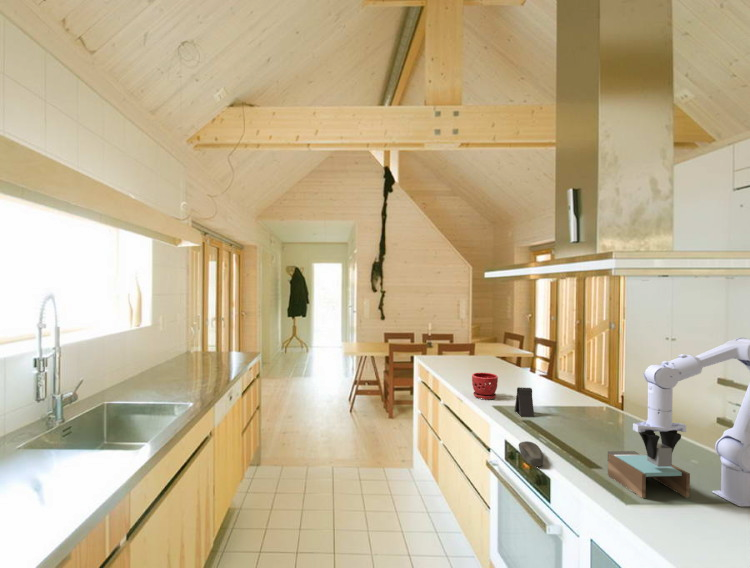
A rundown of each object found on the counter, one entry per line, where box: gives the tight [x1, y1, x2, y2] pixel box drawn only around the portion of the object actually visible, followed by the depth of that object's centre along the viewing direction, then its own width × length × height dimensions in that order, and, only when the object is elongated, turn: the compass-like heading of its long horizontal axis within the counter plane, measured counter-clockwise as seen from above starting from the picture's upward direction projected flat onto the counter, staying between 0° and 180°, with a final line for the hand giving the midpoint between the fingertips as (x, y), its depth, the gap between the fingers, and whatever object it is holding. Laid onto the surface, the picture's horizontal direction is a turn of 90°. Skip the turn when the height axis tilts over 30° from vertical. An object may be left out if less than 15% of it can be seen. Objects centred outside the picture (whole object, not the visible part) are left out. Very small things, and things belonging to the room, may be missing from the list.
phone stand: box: [514, 386, 535, 418], centre depth 188 cm, size 9×6×12 cm, turn 179°
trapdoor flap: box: [607, 450, 682, 476], centre depth 121 cm, size 11×17×4 cm, turn 5°
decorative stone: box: [518, 440, 544, 467], centre depth 137 cm, size 17×6×4 cm, turn 170°
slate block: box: [647, 442, 673, 467], centre depth 115 cm, size 4×4×5 cm
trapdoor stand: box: [607, 453, 691, 499], centre depth 119 cm, size 14×14×6 cm
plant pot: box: [471, 372, 499, 400], centre depth 216 cm, size 13×13×12 cm
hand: (659, 457), depth 115 cm, fingers closed on slate block, 4 cm apart
